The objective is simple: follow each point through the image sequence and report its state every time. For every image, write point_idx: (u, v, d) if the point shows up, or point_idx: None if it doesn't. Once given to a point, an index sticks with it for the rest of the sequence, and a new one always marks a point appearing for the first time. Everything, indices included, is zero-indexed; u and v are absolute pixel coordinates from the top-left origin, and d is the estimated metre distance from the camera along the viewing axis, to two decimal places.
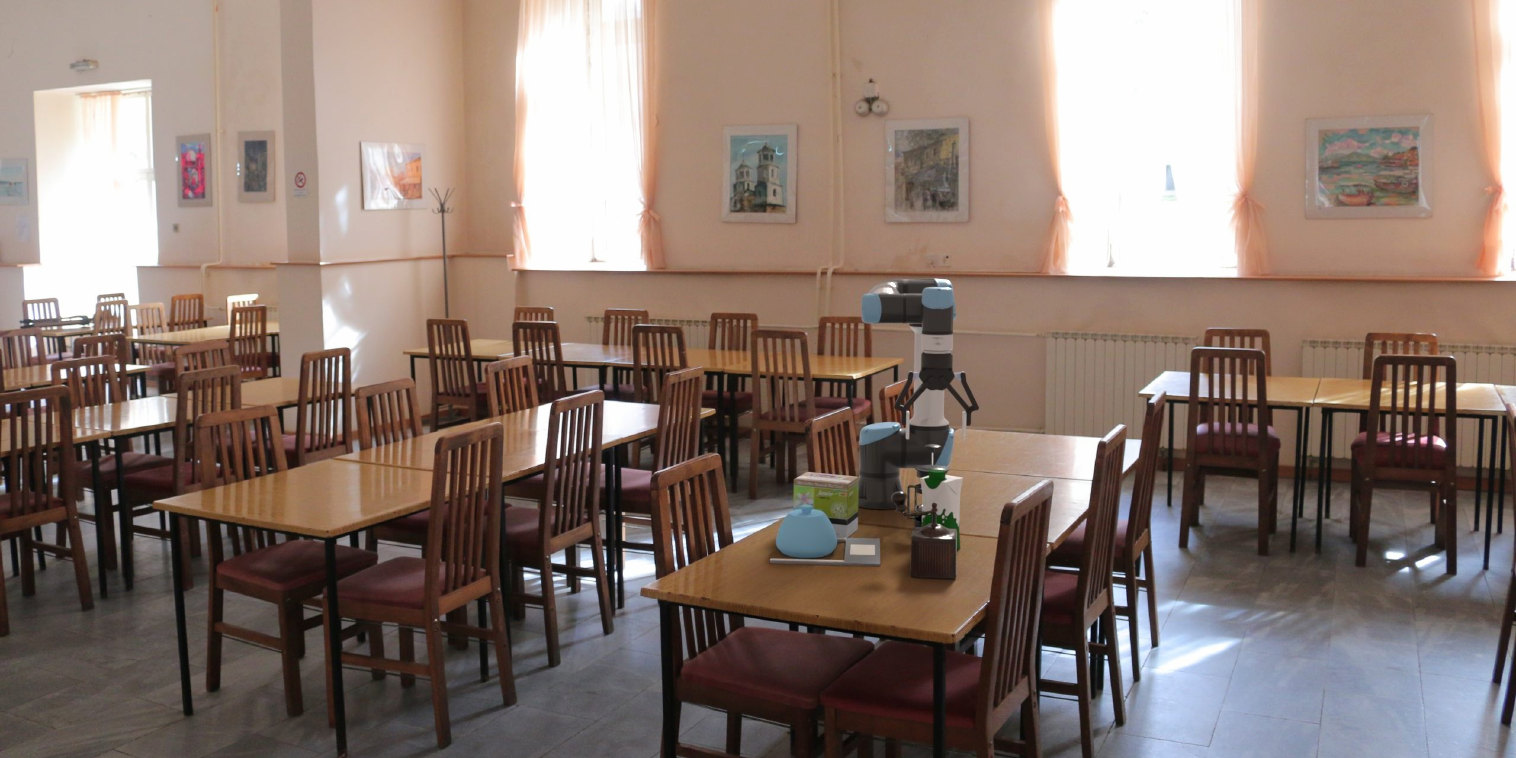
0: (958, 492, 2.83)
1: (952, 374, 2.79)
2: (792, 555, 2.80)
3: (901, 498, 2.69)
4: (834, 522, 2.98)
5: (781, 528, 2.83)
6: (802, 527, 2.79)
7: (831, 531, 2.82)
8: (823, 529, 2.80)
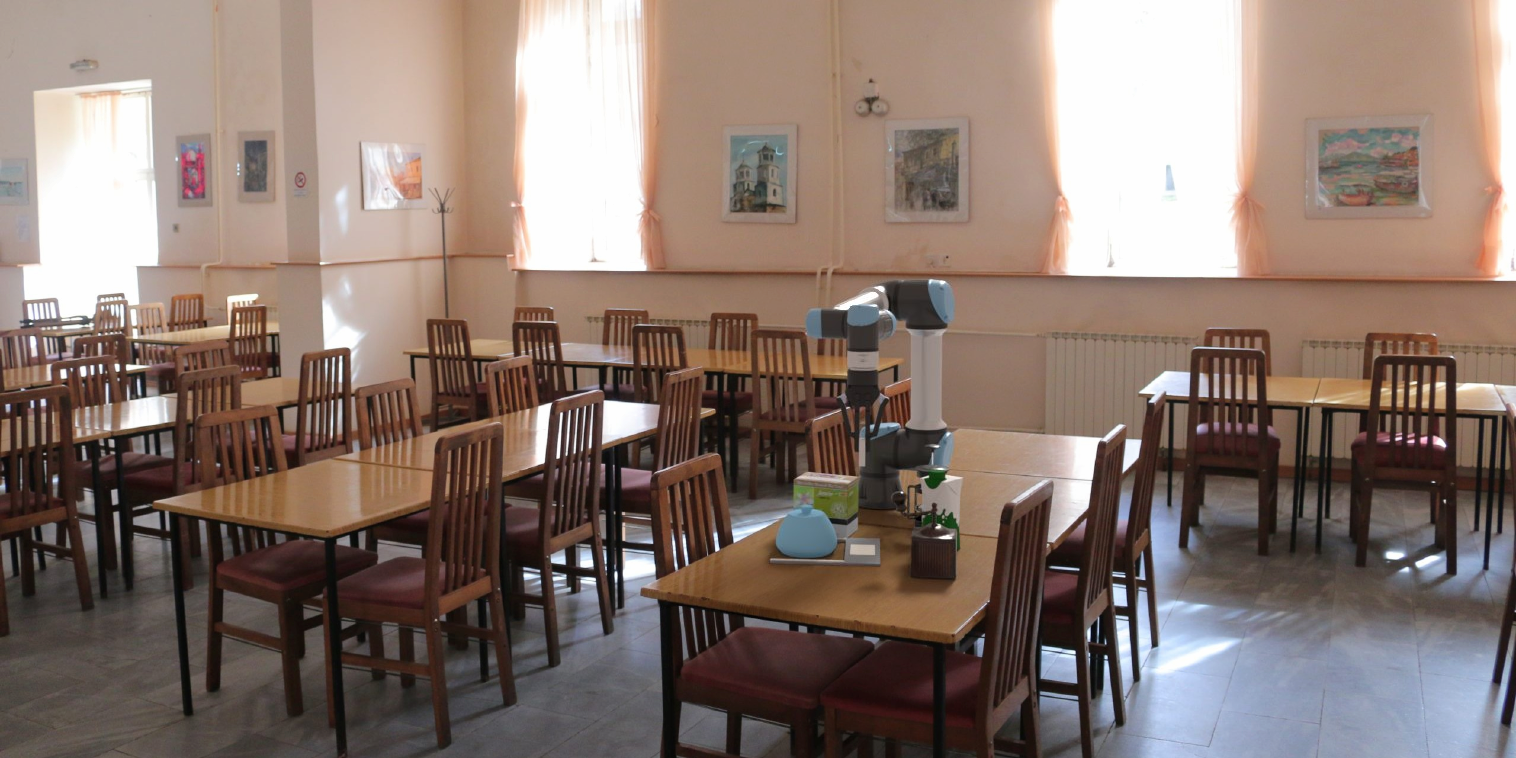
0: (958, 492, 2.83)
1: (878, 393, 2.78)
2: (792, 555, 2.80)
3: (901, 498, 2.69)
4: (834, 522, 2.98)
5: (781, 528, 2.83)
6: (802, 527, 2.79)
7: (831, 531, 2.82)
8: (823, 529, 2.80)
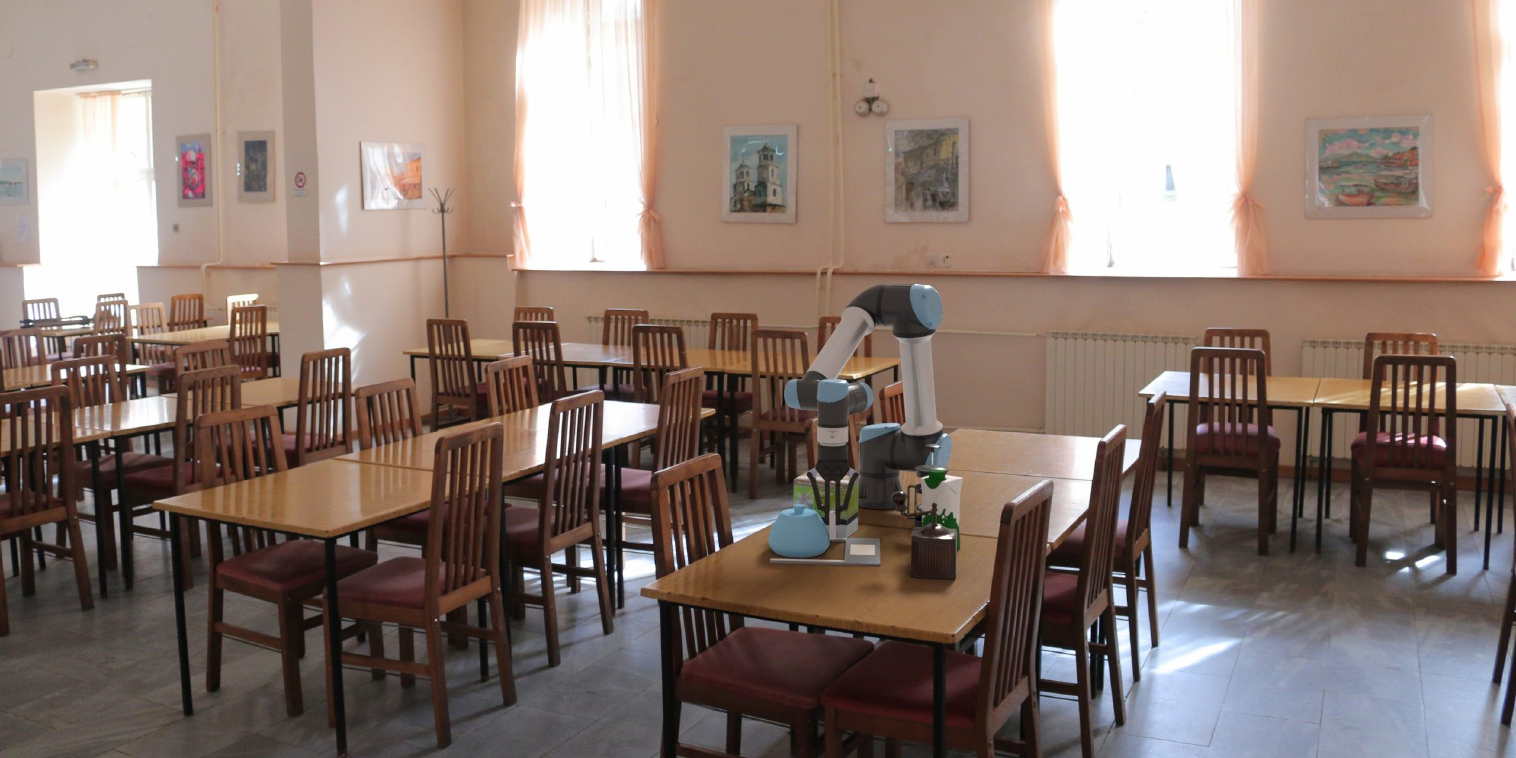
0: (958, 492, 2.83)
1: (848, 468, 2.81)
2: (784, 554, 2.81)
3: (901, 498, 2.69)
4: None
5: (773, 527, 2.83)
6: (794, 526, 2.79)
7: (824, 531, 2.82)
8: (815, 529, 2.80)
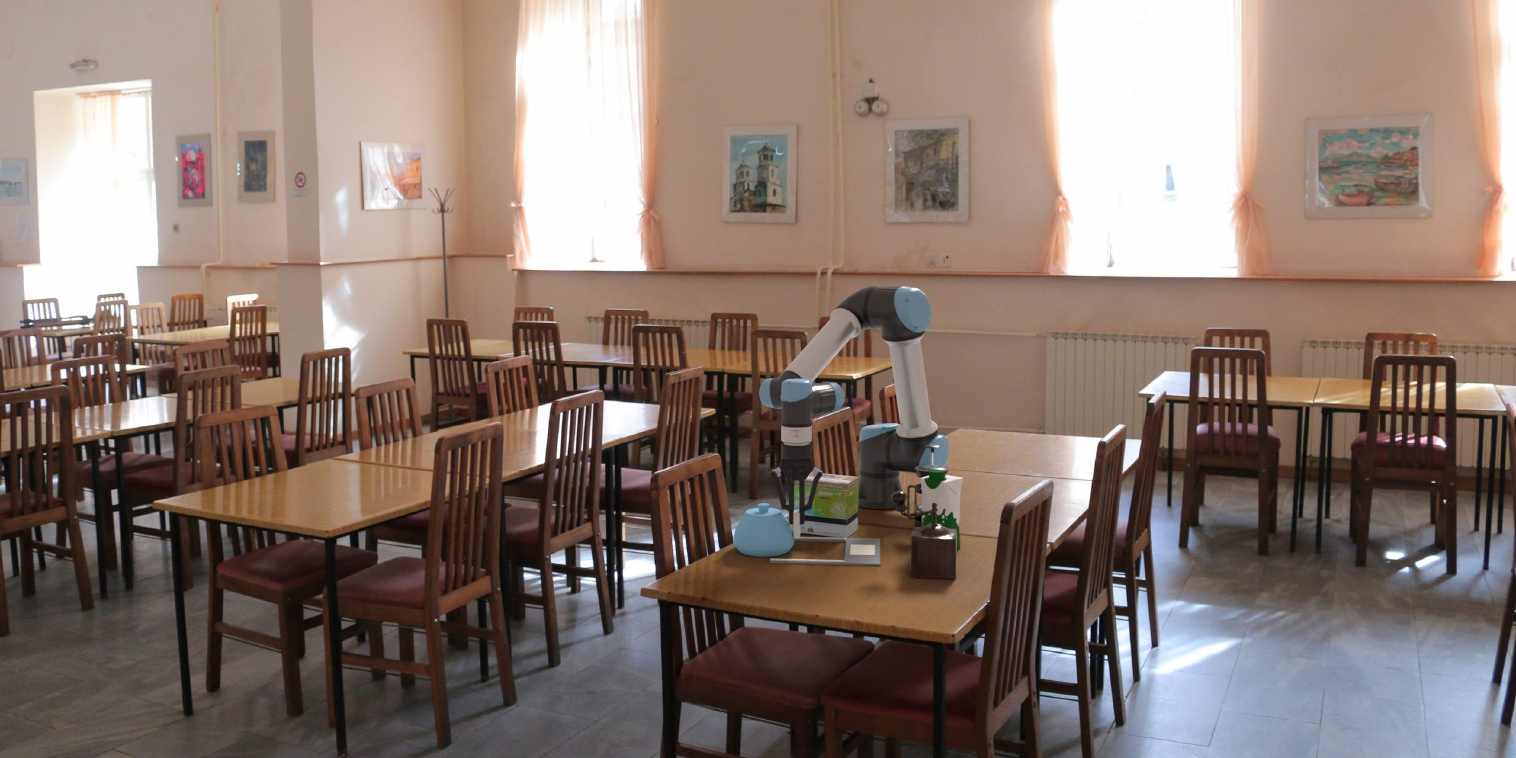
0: (958, 492, 2.83)
1: (812, 467, 2.82)
2: (748, 553, 2.81)
3: (901, 498, 2.69)
4: (834, 522, 2.98)
5: (738, 526, 2.84)
6: (758, 525, 2.80)
7: (788, 530, 2.83)
8: (779, 528, 2.81)
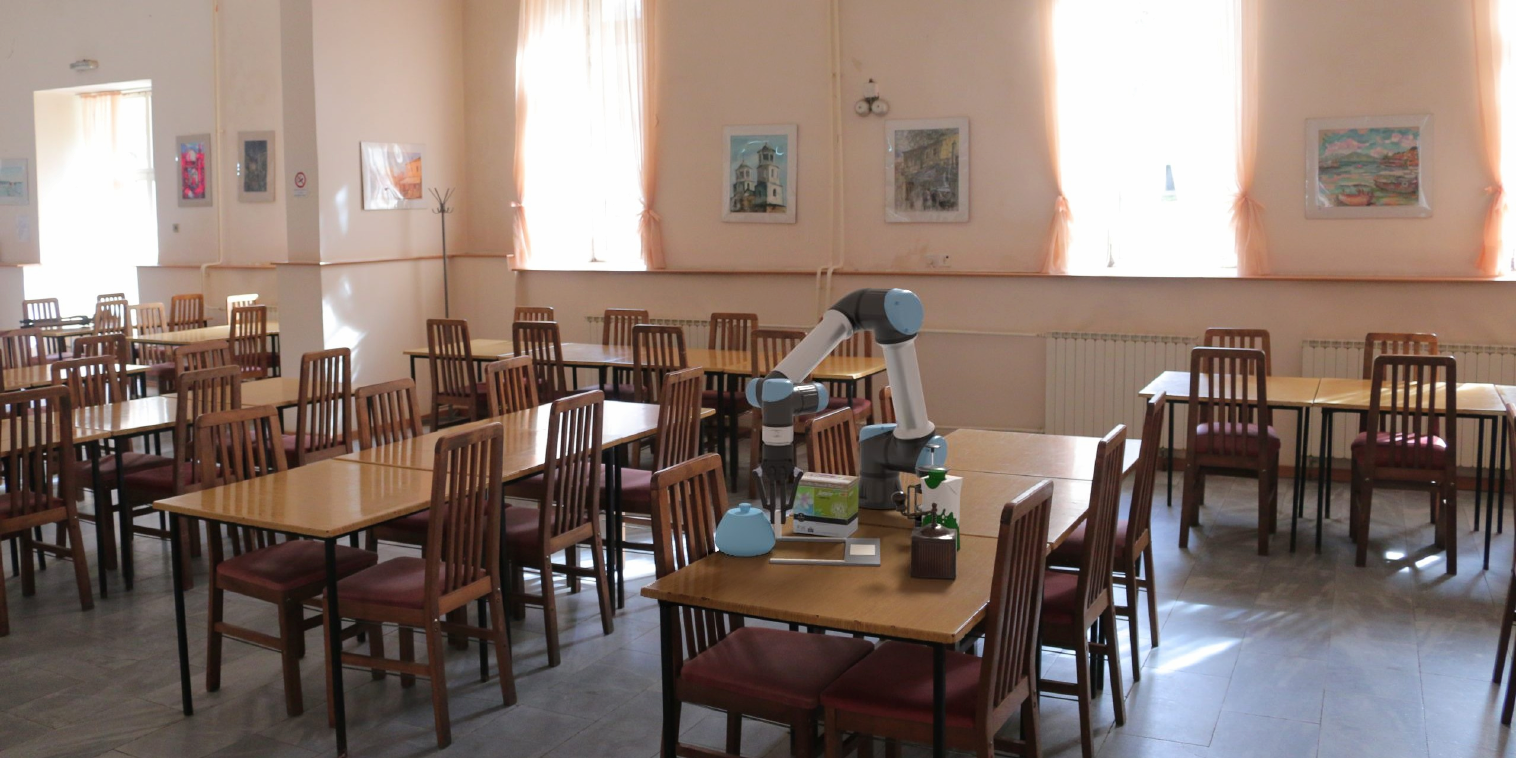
0: (958, 492, 2.83)
1: (793, 467, 2.82)
2: (729, 553, 2.82)
3: (901, 498, 2.69)
4: (834, 522, 2.98)
5: (719, 526, 2.85)
6: (739, 525, 2.81)
7: (769, 530, 2.83)
8: (760, 528, 2.82)
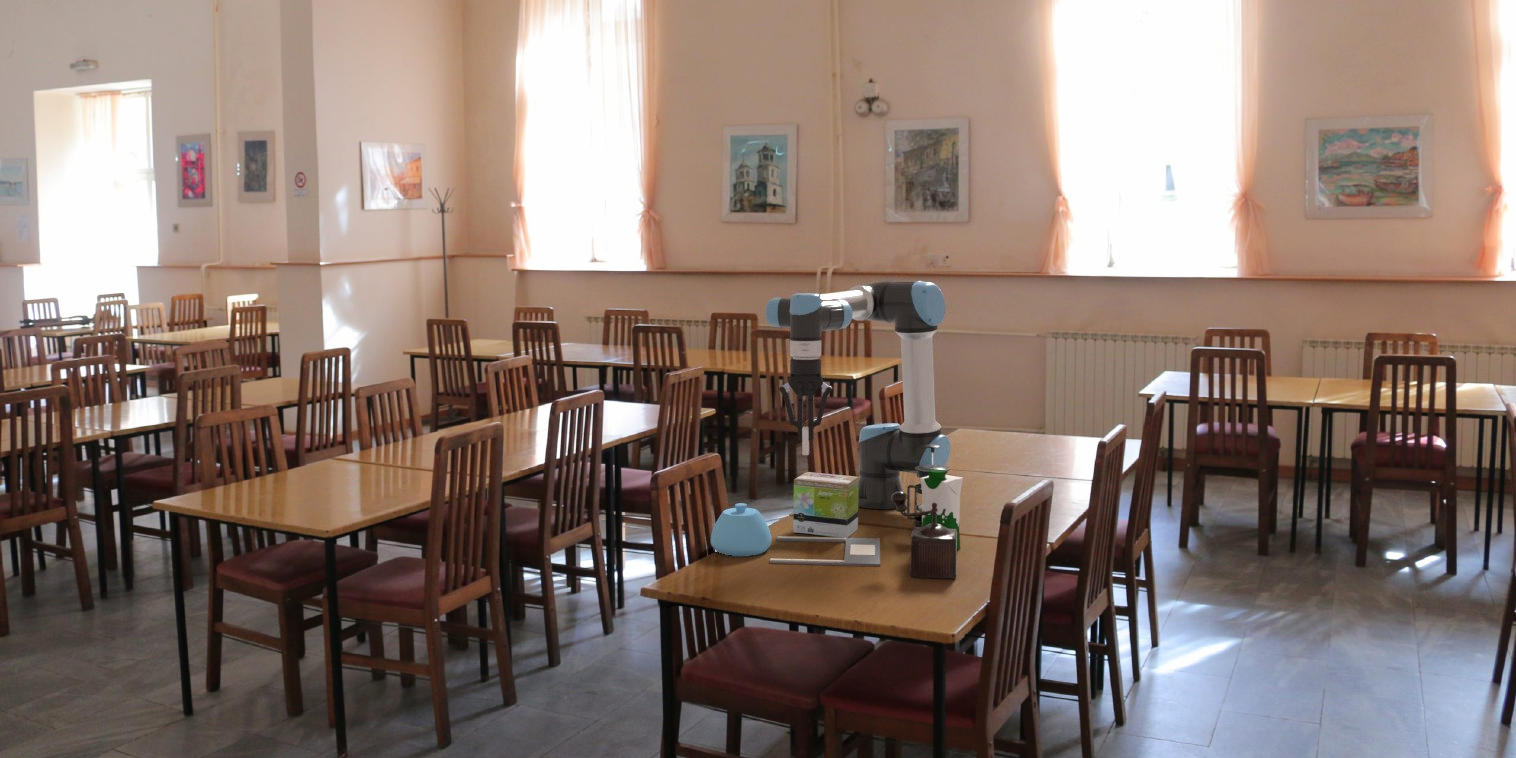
0: (958, 492, 2.83)
1: (821, 382, 2.79)
2: (725, 553, 2.82)
3: (901, 498, 2.69)
4: (834, 522, 2.98)
5: (715, 526, 2.85)
6: (734, 525, 2.81)
7: (764, 530, 2.83)
8: (756, 528, 2.82)
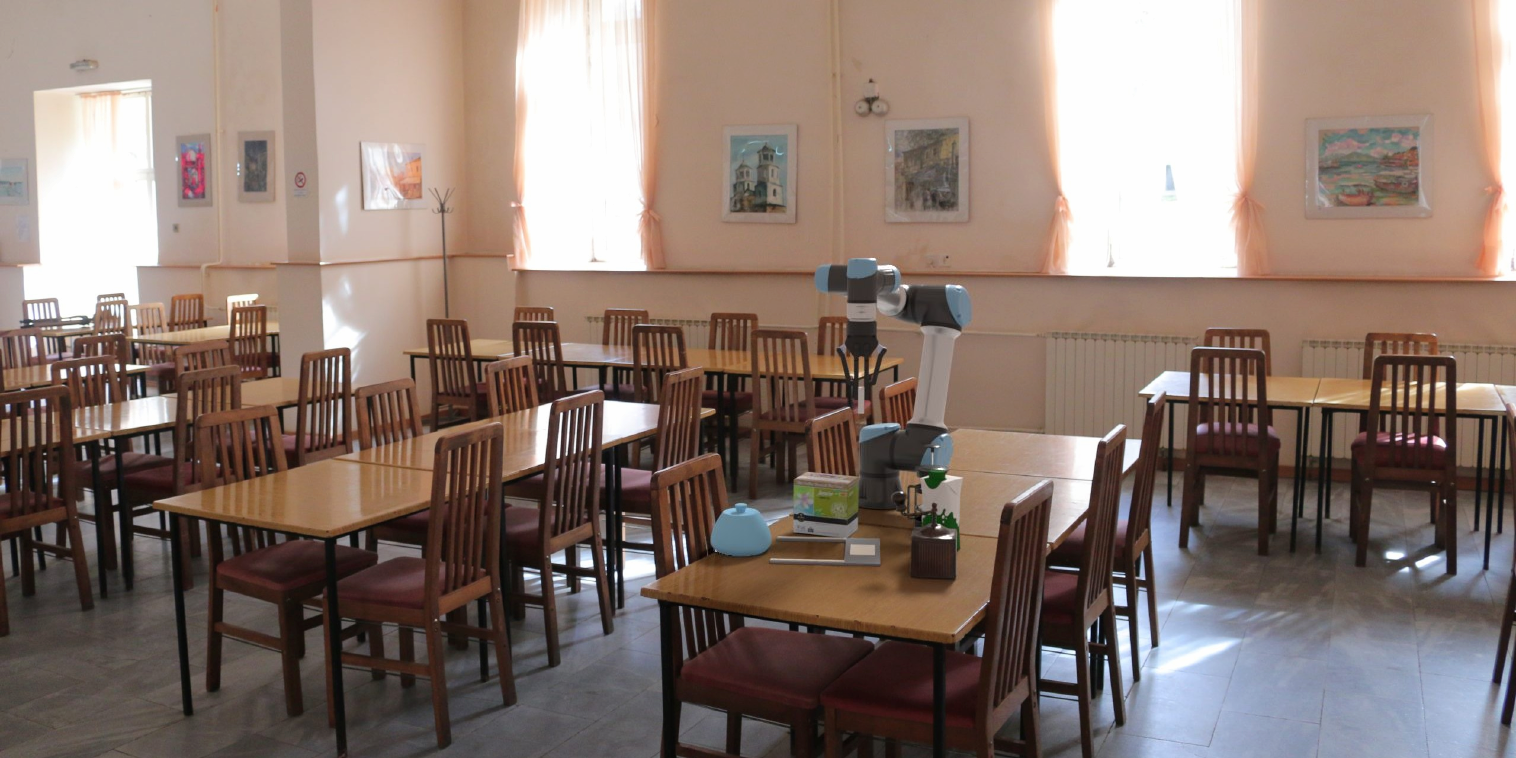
0: (958, 492, 2.83)
1: (876, 343, 2.91)
2: (725, 553, 2.82)
3: (901, 498, 2.69)
4: (834, 522, 2.98)
5: (715, 526, 2.85)
6: (734, 525, 2.81)
7: (764, 530, 2.83)
8: (756, 528, 2.82)
